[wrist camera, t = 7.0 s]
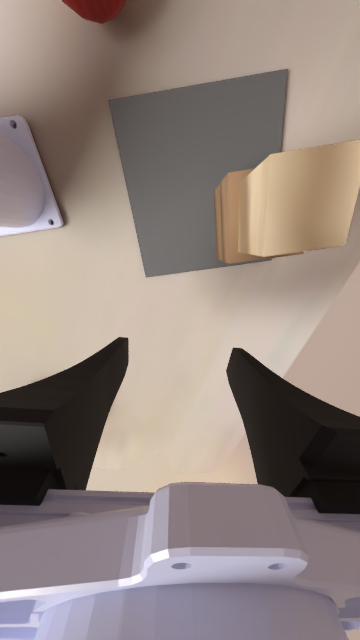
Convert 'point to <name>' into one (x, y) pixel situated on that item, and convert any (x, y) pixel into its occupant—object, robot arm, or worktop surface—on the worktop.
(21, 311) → the worktop surface
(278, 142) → the mat
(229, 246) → the tower top
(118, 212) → the worktop surface
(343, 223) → the cube
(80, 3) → the red round fruit
